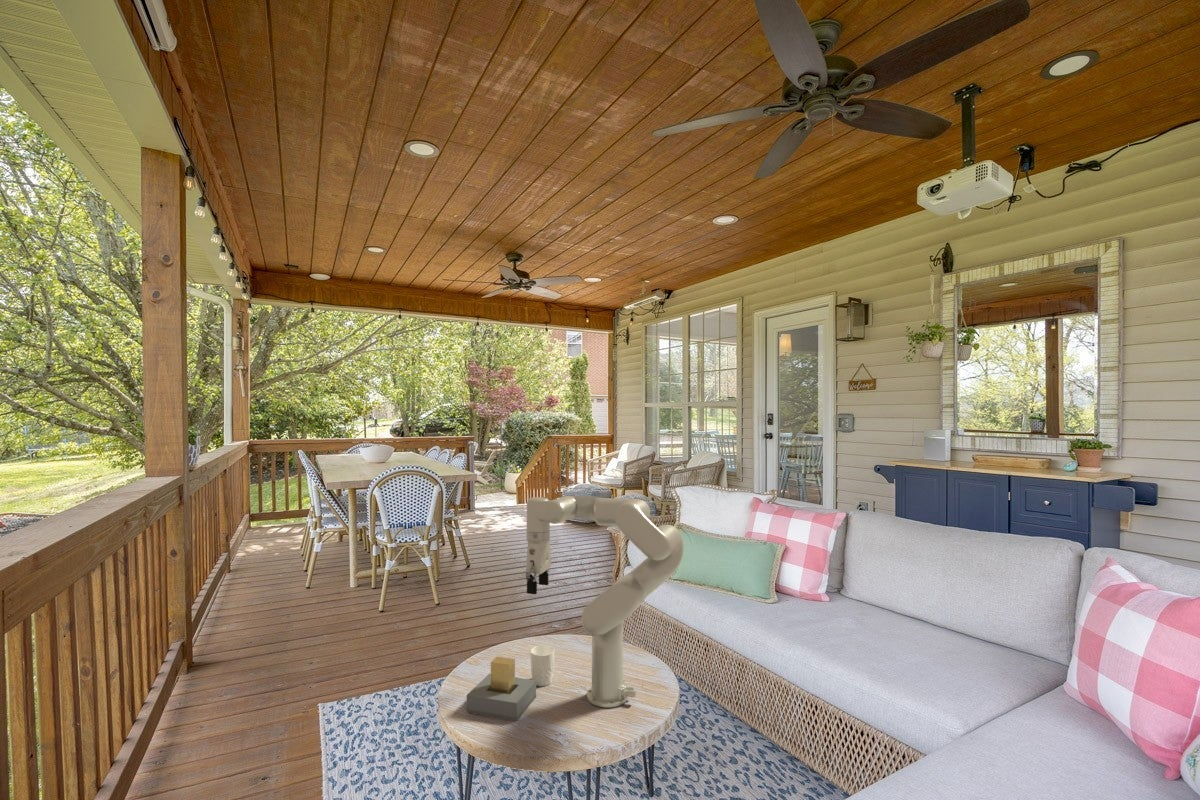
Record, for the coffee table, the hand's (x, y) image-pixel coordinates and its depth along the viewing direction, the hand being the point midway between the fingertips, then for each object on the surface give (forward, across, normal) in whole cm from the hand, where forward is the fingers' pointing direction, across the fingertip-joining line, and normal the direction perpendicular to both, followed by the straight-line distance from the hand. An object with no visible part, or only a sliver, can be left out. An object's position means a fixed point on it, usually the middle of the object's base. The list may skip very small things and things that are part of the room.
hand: (537, 589), depth 179 cm
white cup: (+31, +2, -1) cm, 31 cm away
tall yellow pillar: (+29, -15, +5) cm, 33 cm away
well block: (+30, -15, +5) cm, 34 cm away
